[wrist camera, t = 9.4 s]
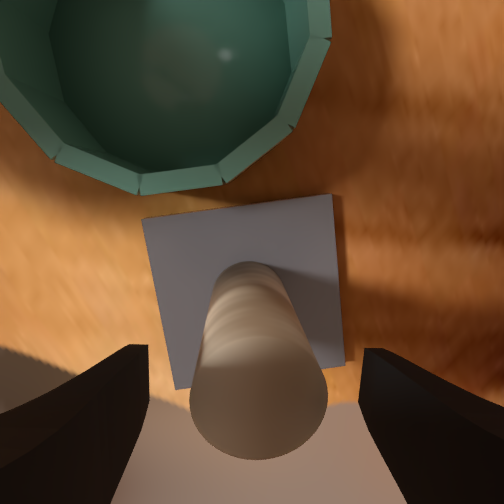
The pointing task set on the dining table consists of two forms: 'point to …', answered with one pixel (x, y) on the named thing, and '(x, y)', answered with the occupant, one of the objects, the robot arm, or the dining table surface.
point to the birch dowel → (255, 369)
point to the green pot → (160, 83)
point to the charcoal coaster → (239, 250)
